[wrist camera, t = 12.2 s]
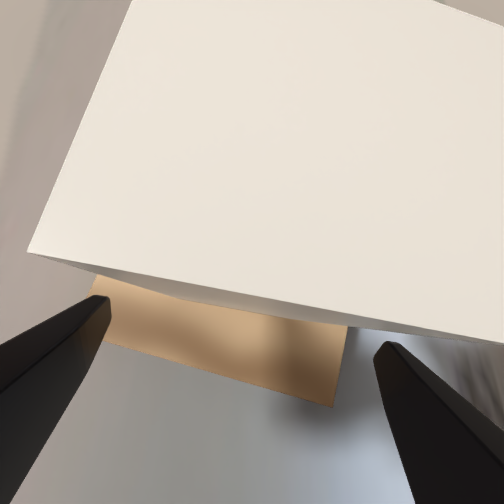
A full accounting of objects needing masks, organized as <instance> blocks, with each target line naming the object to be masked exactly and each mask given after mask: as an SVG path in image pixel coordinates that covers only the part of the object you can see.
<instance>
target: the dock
mask: <svg viewBox="0 0 504 504" xmlns="http://www.w3.org/2000/svg"><path fill="white" fill-rule="evenodd" d="M92 295H103V296H108V297H109V298H110V301H111V313H112V318H111V322H110V325H109V327H108V329H107V331H106V333H105V336H104V338H103V340H102V341H105V342H109V343H112V344H116V345H119V346H123V347H126V348H129V349H133V350H136V351H140V352H143V353H147V354H150V355H154V356H157V357H160V358H164V359H167V360H171V361H174V362H178V363H181V364H184V365H188V366H191V367H195V368H198V369H202V370H205V371H208V372H212V373H215V374H219V375H222V376H226V377H229V378H232V379H236V380H239V381H243V382H246V383H250V384H253V385H257V386H260V387H263V388H267V389H270V390H274V391H277V392H281V393H284V394H287V395H291V396H294V397H298V398H301V399H305V400H308V401H311V402H315V403H318V404H322V405H325V406H329V407H332V408H333V403H334V398H335V393H336V387H337V382H338V377H339V371H340V366H341V361H342V355H343V350H344V345H345V339H346V334H347V329H348V326H342V325H334V324H326V323H318V322H310V321H303V320H295V319H287V318H279V317H274V316H269V315H263V314H258V313H252V312H247V311H241V310H236V309H230V308H225V307H219V306H214V305H208V304H203V303H197V302H192V301H186V300H181V299H177V298H174V297H170V296H167V295H164V294H161V293H158V292H154V291H151V290H148V289H145V288H141V287H138V286H135V285H132V284H129V283H125V282H122V281H119V280H116V279H112V278H109V277H106V276H103V275H99V274H97V276H96V279H95V281H94V283H93V285H92V287H91V289H90V291H89V293H88V295H87V297H86V298H88V297H90V296H92Z"/></svg>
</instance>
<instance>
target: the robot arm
mask: <svg viewBox="0 0 504 504" xmlns="http://www.w3.org/2000/svg"><path fill="white" fill-rule="evenodd" d="M111 318H112V313H111V301H110V298H109V297H108V296H103V295H92V296H90V297H88V298H86V299H84V300H83V301H81V302H79V303H77V304H75V305H73V306H71V307H70V308H68V309H66V310H64V311H62V312H60V313H58V314H57V315H55V316H53V317H51V318H49V319H47V320H45V321H44V322H42V323H40V324H38V325H36V326H34V327H32V328H31V329H29V330H27V331H25V332H23V333H21V334H19V335H18V336H16V337H14V338H12V339H10V340H8V341H6V342H5V343H3V344H1V345H0V504H10V502H11V501H12V499H13V497H14V496H15V494H16V492H17V490H18V489H19V487H20V485H21V484H22V482H23V480H24V479H25V477H26V475H27V474H28V472H29V470H30V469H31V467H32V465H33V464H34V462H35V460H36V459H37V457H38V455H39V453H40V452H41V450H42V448H43V447H44V445H45V443H46V442H47V440H48V438H49V437H50V435H51V433H52V432H53V430H54V428H55V427H56V425H57V423H58V422H59V420H60V418H61V416H62V415H63V413H64V411H65V410H66V408H67V406H68V405H69V403H70V401H71V400H72V398H73V396H74V395H75V393H76V391H77V390H78V388H79V386H80V384H81V383H82V381H83V379H84V378H85V376H86V374H87V372H88V370H89V368H90V366H91V364H92V362H93V360H94V357H95V355H96V353H97V351H98V349H99V347H100V344H101V342H102V340H103V338H104V336H105V333H106V331H107V329H108V327H109V325H110V322H111ZM373 362H374V367H375V371H376V376H377V380H378V384H379V388H380V393H381V397H382V401H383V405H384V409H385V412H386V416H387V419H388V422H389V425H390V428H391V431H392V434H393V437H394V440H395V443H396V446H397V449H398V452H399V455H400V458H401V461H402V464H403V467H404V470H405V473H406V476H407V480H408V483H409V486H410V489H411V492H412V495H413V498H414V501H415V504H504V432H503V431H502V430H501V429H500V428H499V427H497V426H496V425H495V424H494V423H493V422H492V421H490V420H489V419H488V418H487V417H486V416H484V415H483V414H482V413H481V412H480V411H479V410H477V409H476V408H475V407H474V406H473V405H471V404H470V403H469V402H468V401H467V400H466V399H464V398H463V397H462V396H461V395H460V394H459V393H457V392H456V391H455V390H454V389H453V388H451V387H450V386H449V385H448V384H447V383H446V382H444V381H443V380H442V379H441V378H440V377H438V376H437V375H436V374H435V373H434V372H433V371H431V370H430V369H429V368H428V367H427V366H425V365H424V364H423V363H422V362H421V361H420V360H418V359H417V358H416V357H415V356H414V355H412V354H411V353H410V352H409V351H408V350H407V349H405V348H404V347H403V346H402V345H401V344H399V343H397V342H391V341H386V342H384V343H383V344H382V346H381V347H380V348H379V350H378V351H377V352H376V354H375V355H374V359H373Z"/></svg>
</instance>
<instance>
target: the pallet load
mask: <svg viewBox="0 0 504 504" xmlns="http://www.w3.org/2000/svg"><path fill="white" fill-rule="evenodd" d="M27 252H28V253H32V254H35V255H38V256H41V257H45V258H48V259H51V260H54V261H57V262H61V263H64V264H67V265H70V266H74V267H77V268H80V269H83V270H87V271H90V272H93V273H96V274H99V275H103V276H106V277H109V278H112V279H116V280H119V281H122V282H125V283H129V284H132V285H135V286H138V287H141V288H145V289H148V290H151V291H154V292H158V293H161V294H164V295H167V296H170V297H174V298H177V299H181V300H186V301H192V302H197V303H203V304H208V305H214V306H219V307H225V308H230V309H236V310H241V311H247V312H252V313H258V314H263V315H269V316H274V317H279V318H287V319H295V320H303V321H310V322H318V323H326V324H334V325H342V326H350V327H358V328H366V329H374V330H382V331H390V332H397V333H405V334H413V335H421V336H429V337H437V338H445V339H453V340H461V341H469V342H477V343H484V344H492V345H500V346H504V26H501V25H498V24H495V23H492V22H490V21H487V20H485V19H482V18H479V17H476V16H474V15H471V14H468V13H466V12H463V11H460V10H457V9H454V8H452V7H449V6H446V5H444V4H441V3H438V2H436V1H433V0H132V2H131V4H130V7H129V9H128V12H127V14H126V16H125V19H124V21H123V24H122V26H121V28H120V31H119V33H118V35H117V38H116V40H115V43H114V45H113V47H112V50H111V52H110V54H109V57H108V59H107V62H106V64H105V66H104V69H103V71H102V74H101V76H100V78H99V81H98V83H97V85H96V88H95V90H94V93H93V95H92V97H91V100H90V102H89V104H88V107H87V109H86V112H85V114H84V116H83V119H82V121H81V123H80V126H79V128H78V131H77V133H76V135H75V138H74V140H73V143H72V145H71V147H70V150H69V152H68V154H67V157H66V159H65V162H64V164H63V166H62V169H61V171H60V173H59V176H58V178H57V181H56V183H55V185H54V188H53V190H52V193H51V195H50V197H49V200H48V202H47V204H46V207H45V209H44V212H43V214H42V216H41V219H40V221H39V223H38V226H37V228H36V231H35V233H34V235H33V238H32V240H31V243H30V245H29V247H28V250H27Z"/></svg>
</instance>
